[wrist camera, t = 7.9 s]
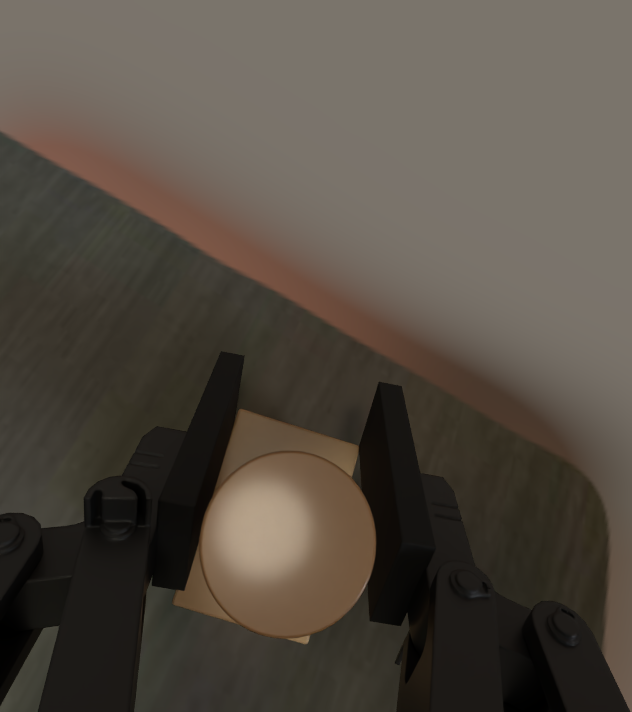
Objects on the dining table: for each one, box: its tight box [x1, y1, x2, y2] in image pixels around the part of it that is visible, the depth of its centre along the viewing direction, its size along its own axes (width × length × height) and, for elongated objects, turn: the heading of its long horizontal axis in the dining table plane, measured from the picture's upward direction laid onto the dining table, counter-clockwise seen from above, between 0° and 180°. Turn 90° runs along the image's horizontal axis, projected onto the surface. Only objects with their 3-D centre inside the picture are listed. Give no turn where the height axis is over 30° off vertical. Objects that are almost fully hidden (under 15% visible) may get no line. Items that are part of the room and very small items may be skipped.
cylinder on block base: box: [172, 409, 376, 644], centre depth 13 cm, size 4×6×11 cm
